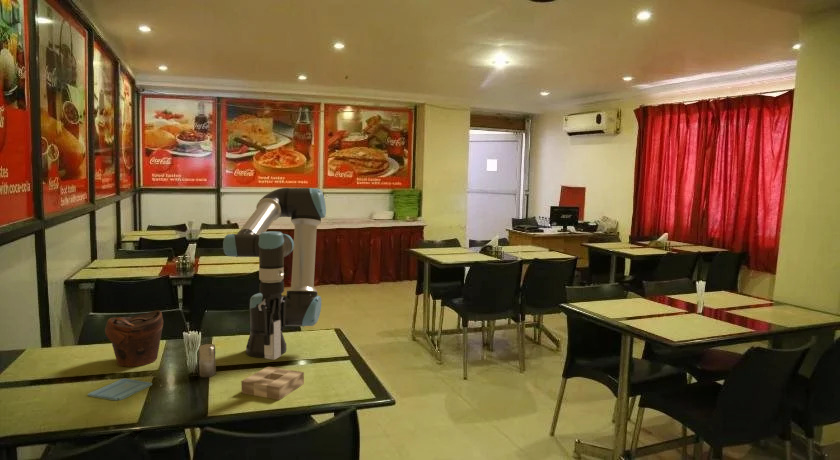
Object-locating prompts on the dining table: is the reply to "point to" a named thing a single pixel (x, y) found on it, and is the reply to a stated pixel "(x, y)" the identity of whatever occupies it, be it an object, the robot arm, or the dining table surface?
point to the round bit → (207, 360)
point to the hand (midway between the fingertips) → (272, 352)
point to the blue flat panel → (120, 389)
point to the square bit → (275, 340)
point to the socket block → (272, 383)
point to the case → (135, 338)
